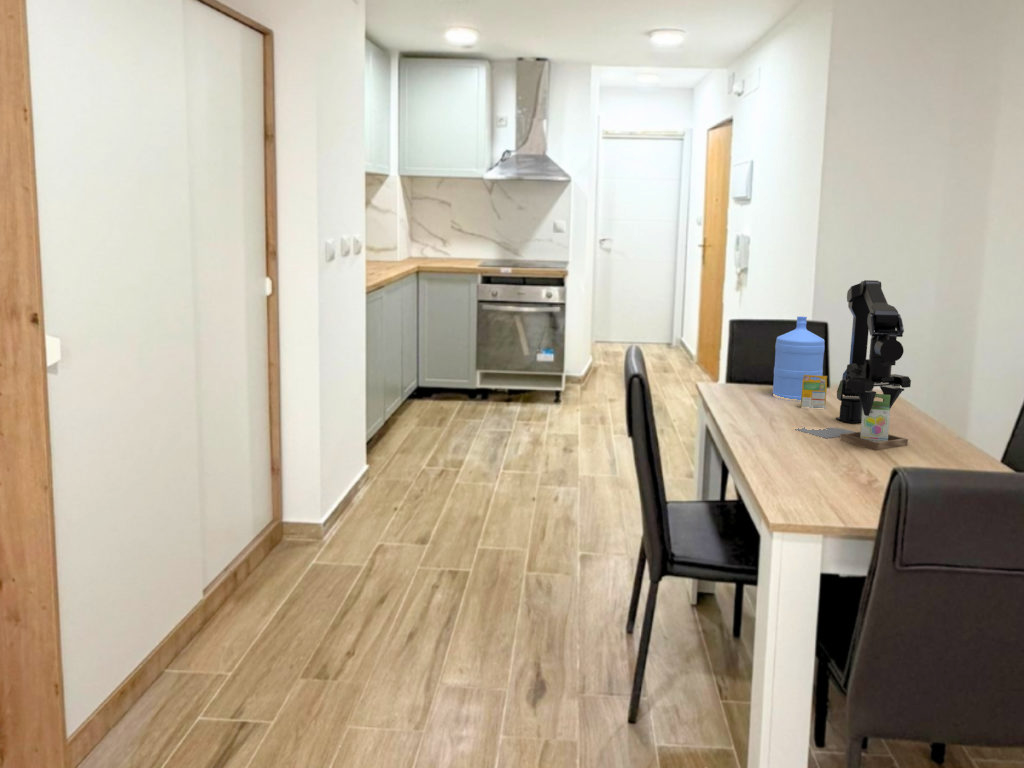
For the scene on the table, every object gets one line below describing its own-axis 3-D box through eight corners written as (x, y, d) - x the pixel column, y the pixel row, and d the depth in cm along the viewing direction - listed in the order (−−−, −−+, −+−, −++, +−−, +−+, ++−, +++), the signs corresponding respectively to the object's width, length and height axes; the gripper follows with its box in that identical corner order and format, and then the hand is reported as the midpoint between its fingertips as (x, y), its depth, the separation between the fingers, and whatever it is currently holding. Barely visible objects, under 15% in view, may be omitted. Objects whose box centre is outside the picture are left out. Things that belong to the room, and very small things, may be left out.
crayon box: (824, 411, 302) (827, 374, 300) (825, 412, 299) (827, 376, 297) (800, 409, 303) (802, 373, 301) (800, 411, 300) (803, 374, 298)
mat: (824, 425, 279) (824, 423, 279) (862, 435, 267) (862, 433, 267) (788, 429, 272) (788, 427, 272) (826, 439, 260) (826, 437, 260)
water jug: (826, 405, 311) (833, 319, 307) (778, 404, 311) (784, 318, 307) (812, 396, 327) (818, 315, 322) (766, 395, 327) (772, 314, 322)
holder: (871, 437, 264) (871, 430, 264) (907, 446, 254) (908, 439, 253) (840, 441, 258) (840, 434, 258) (876, 450, 248) (876, 443, 248)
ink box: (859, 444, 255) (863, 395, 253) (859, 441, 259) (863, 392, 257) (887, 446, 253) (891, 397, 251) (887, 443, 257) (891, 394, 254)
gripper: (880, 351, 264) (875, 406, 266) (832, 354, 255) (827, 411, 257) (914, 356, 254) (909, 413, 257) (865, 360, 245) (860, 419, 248)
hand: (875, 414), depth 255 cm, fingers closed on ink box, 7 cm apart
